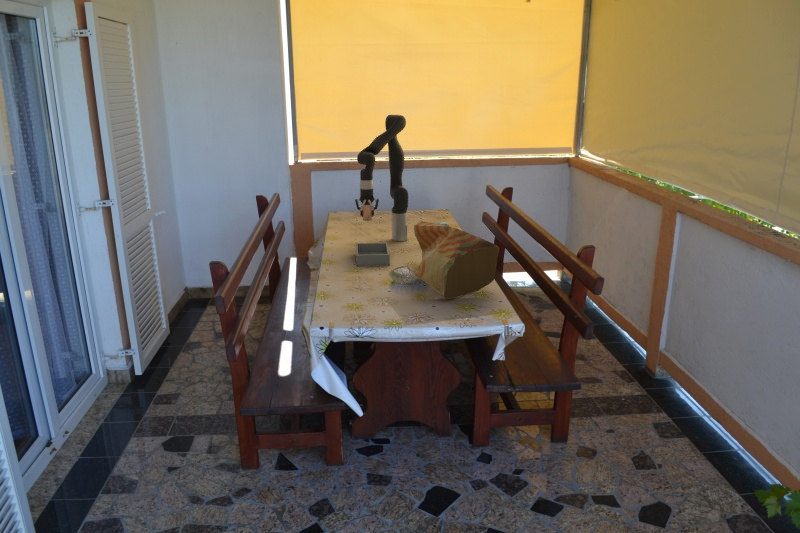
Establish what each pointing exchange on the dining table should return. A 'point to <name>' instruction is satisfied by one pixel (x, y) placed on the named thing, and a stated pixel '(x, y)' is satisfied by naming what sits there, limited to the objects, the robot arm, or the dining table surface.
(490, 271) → the shopping bag
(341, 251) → the dining table surface
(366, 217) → the jar
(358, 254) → the tote
